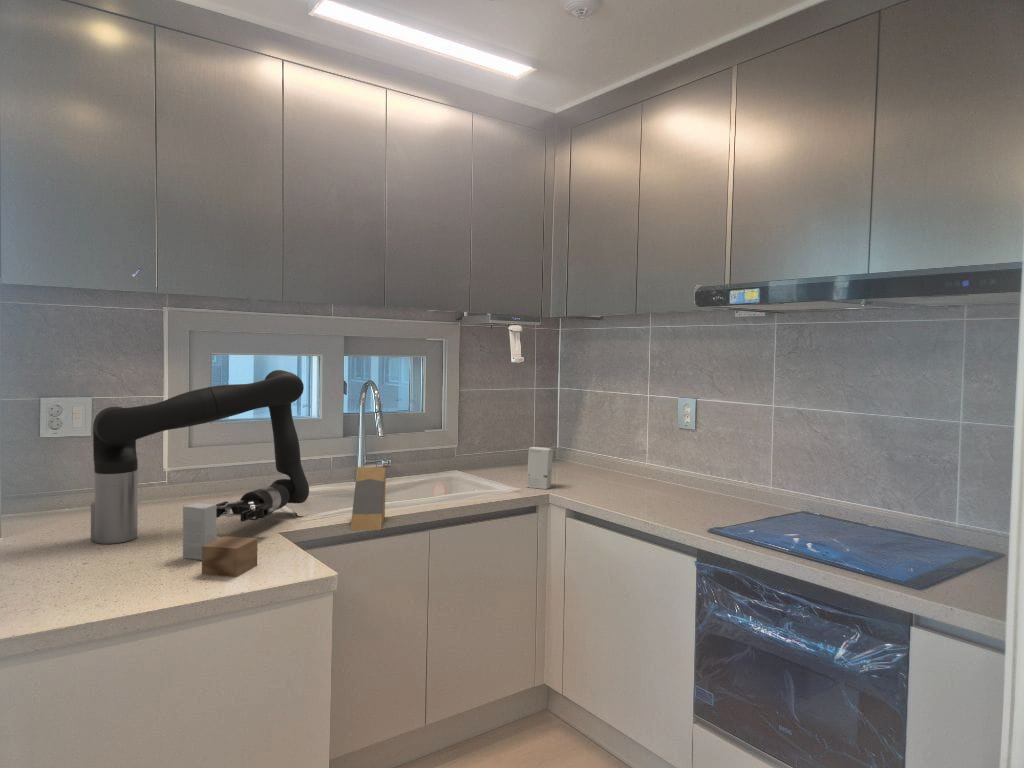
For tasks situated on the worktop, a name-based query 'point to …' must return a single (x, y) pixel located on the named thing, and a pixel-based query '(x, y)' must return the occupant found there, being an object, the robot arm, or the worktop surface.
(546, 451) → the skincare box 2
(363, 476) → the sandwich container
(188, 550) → the skincare box
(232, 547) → the walnut block
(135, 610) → the worktop surface
